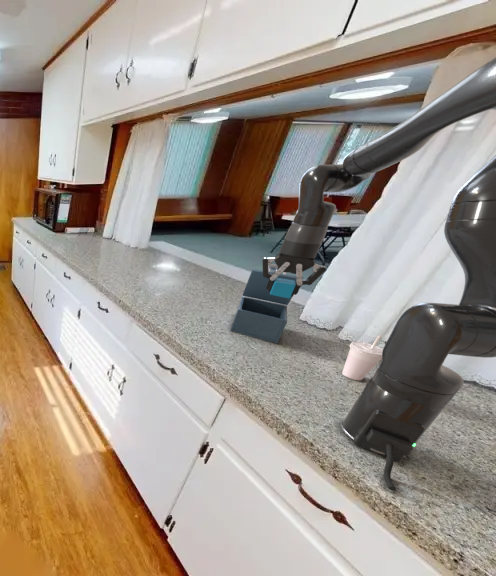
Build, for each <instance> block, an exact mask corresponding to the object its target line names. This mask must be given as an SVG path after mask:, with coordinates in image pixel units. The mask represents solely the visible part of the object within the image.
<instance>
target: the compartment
mask: <svg viewBox="0 0 496 576" xmlns="http://www.w3.org/2000/svg"><path fill="white" fill-rule="evenodd" d="M287 324H288V305H284V304H279V303H274V302H270V301H265V300H260V299H255V298H251V297H246V296H241V297H240V300H239V304H238V305H237V309H236V312H235V314H234V317H233V320H232V323H231V327H230V331H231V332H233V333H237V334H241V335H243V336H244V335H245V336H249V337H251V338H255V339H259V340H262V341H266V342H270V343H274V344H279V341H280V339H281V337H282V334H283V332H284V330H285V329H286V326H287Z"/></svg>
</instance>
